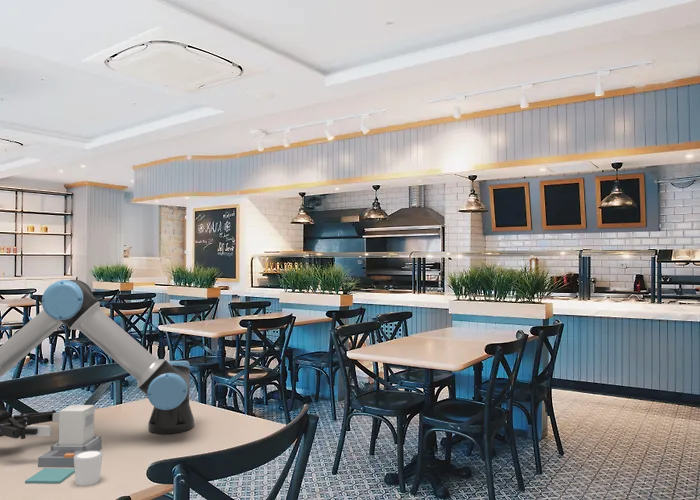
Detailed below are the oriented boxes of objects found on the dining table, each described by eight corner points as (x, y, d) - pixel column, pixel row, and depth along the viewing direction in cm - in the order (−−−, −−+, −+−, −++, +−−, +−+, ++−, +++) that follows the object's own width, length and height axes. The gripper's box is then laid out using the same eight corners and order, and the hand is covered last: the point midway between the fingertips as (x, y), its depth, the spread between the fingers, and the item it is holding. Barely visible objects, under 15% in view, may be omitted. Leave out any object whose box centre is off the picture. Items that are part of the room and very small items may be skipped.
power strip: (112, 439, 177) (113, 428, 178) (75, 467, 153) (75, 453, 153) (80, 439, 178) (80, 428, 178) (38, 466, 153) (38, 453, 154)
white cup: (79, 476, 146) (80, 450, 147) (106, 476, 147) (106, 449, 147) (68, 487, 140) (69, 459, 140) (96, 486, 140) (97, 458, 140)
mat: (77, 470, 151) (77, 468, 151) (59, 483, 142) (59, 481, 142) (44, 470, 151) (44, 468, 151) (25, 483, 142) (25, 480, 142)
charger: (95, 441, 168) (96, 405, 168) (84, 449, 161) (84, 411, 161) (70, 441, 168) (71, 404, 168) (58, 448, 161) (59, 410, 161)
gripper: (16, 424, 177) (82, 424, 177) (-39, 450, 152) (38, 450, 152) (17, 400, 177) (83, 401, 177) (-38, 422, 152) (39, 423, 152)
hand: (62, 424), depth 164 cm, fingers open, 13 cm apart
